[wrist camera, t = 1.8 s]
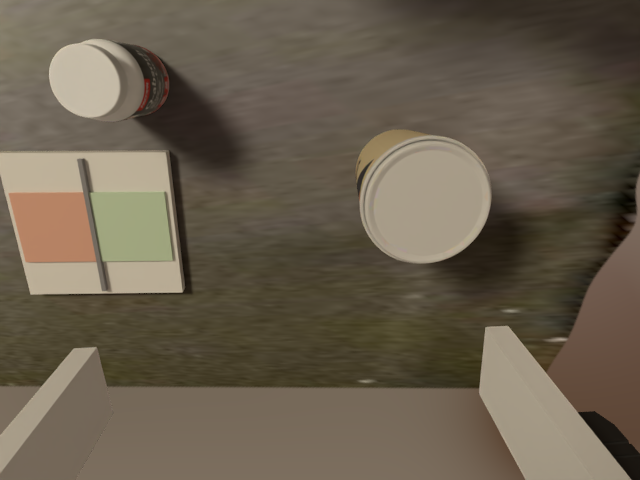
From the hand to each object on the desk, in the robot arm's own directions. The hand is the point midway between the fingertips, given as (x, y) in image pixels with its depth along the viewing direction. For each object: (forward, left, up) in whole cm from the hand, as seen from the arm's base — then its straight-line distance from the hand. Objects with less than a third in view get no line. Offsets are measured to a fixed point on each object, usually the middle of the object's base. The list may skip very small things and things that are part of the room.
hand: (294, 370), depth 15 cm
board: (+4, -20, -29) cm, 35 cm away
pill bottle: (-9, -14, -29) cm, 33 cm away
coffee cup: (-1, +9, -29) cm, 30 cm away
